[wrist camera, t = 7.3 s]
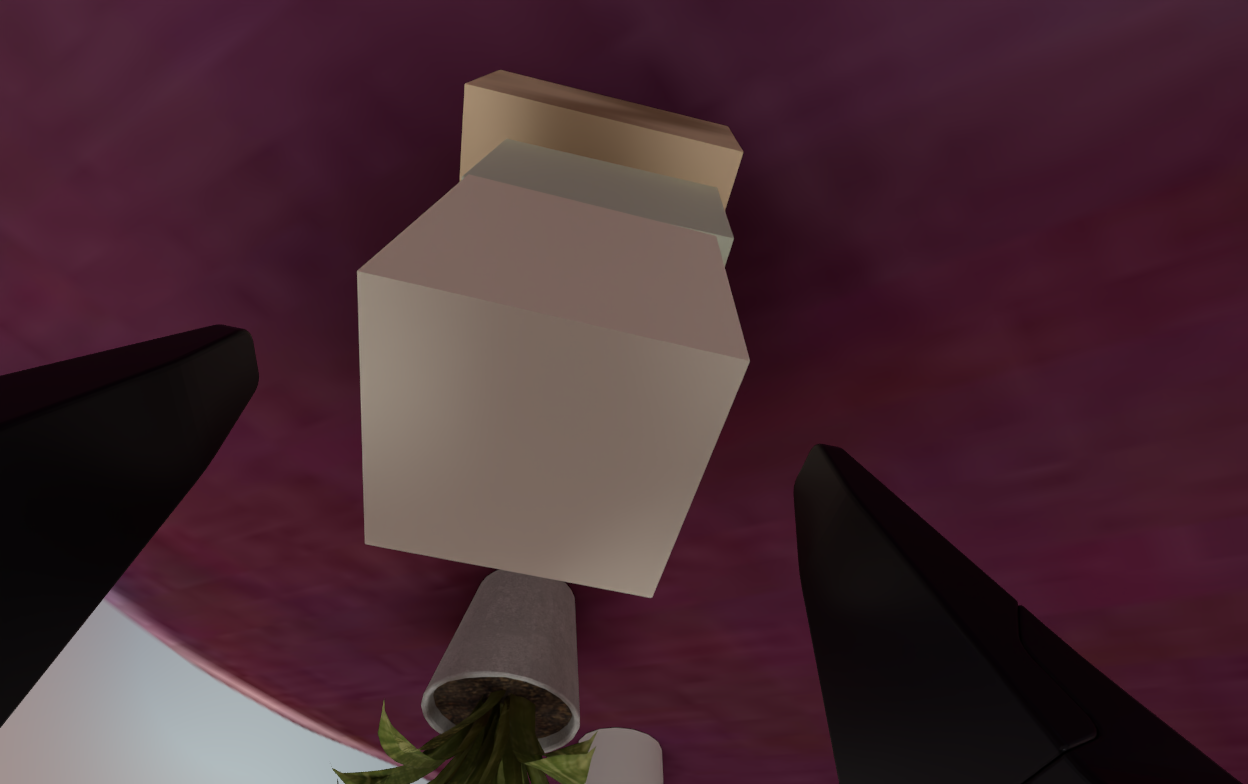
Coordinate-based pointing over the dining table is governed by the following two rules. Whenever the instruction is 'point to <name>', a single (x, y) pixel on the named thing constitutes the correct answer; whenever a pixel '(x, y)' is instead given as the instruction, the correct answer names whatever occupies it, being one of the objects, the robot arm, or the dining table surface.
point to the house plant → (500, 694)
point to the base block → (595, 130)
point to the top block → (609, 187)
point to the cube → (542, 384)
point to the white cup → (624, 757)
